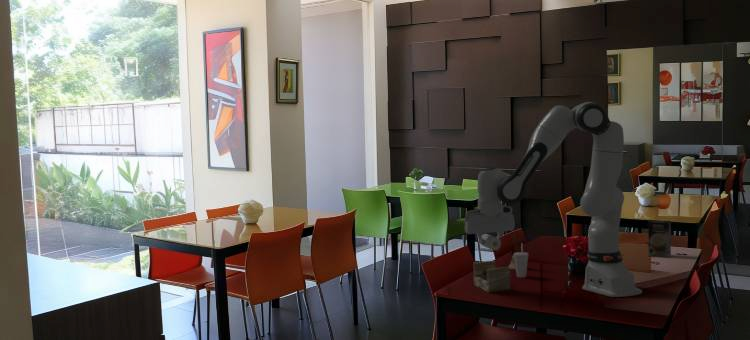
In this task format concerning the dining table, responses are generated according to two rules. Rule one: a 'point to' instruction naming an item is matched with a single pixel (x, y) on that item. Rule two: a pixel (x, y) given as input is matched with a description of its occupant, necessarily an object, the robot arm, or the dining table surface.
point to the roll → (491, 242)
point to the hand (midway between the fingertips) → (490, 243)
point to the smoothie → (521, 262)
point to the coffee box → (659, 238)
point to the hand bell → (516, 243)
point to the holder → (491, 276)
